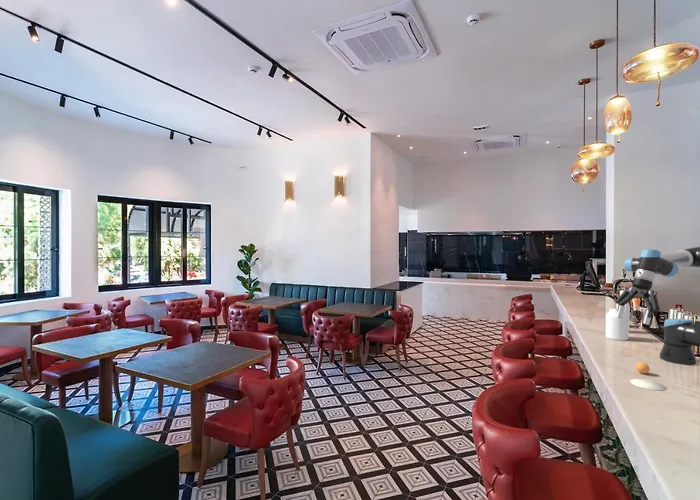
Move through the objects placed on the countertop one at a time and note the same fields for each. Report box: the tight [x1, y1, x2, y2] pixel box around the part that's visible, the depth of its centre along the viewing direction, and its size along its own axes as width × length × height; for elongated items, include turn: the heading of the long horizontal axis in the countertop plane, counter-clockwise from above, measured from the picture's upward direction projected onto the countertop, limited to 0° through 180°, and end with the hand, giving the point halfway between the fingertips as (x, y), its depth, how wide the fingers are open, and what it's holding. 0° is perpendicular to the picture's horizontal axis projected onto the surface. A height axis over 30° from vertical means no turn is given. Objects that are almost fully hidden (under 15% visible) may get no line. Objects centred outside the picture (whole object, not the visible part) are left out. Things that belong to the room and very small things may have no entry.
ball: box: [635, 361, 651, 374], centre depth 183 cm, size 6×6×6 cm
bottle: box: [615, 290, 631, 334], centre depth 265 cm, size 8×8×30 cm
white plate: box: [629, 378, 667, 391], centre depth 169 cm, size 13×13×1 cm
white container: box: [605, 308, 629, 341], centre depth 248 cm, size 12×12×20 cm
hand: (631, 321), depth 178 cm, fingers open, 13 cm apart
